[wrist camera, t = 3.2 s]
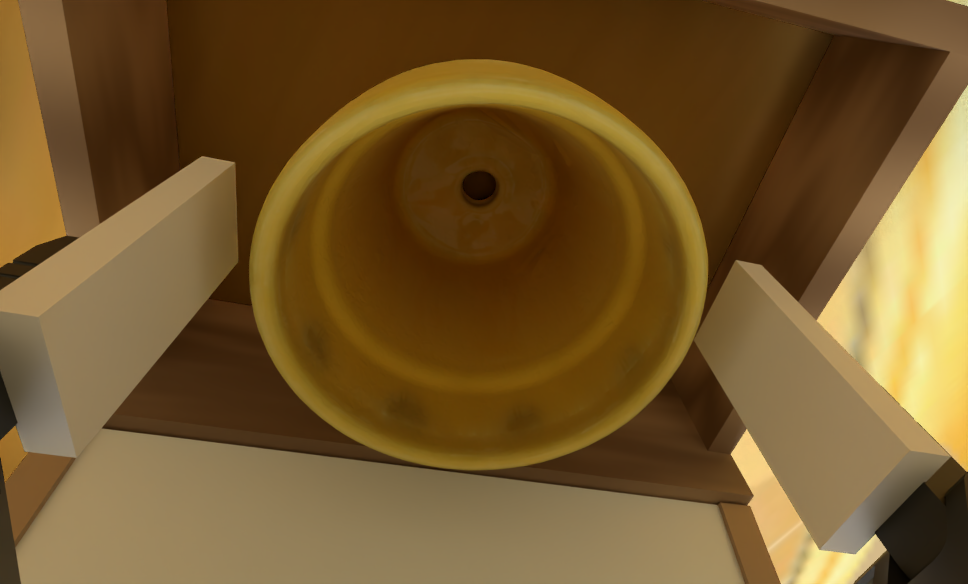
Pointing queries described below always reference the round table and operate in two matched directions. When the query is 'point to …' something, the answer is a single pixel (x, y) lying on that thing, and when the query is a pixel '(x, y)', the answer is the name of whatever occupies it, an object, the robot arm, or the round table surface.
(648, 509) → the lid
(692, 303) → the plant pot
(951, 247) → the round table surface
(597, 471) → the cold frame
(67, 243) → the robot arm
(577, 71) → the round table surface
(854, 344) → the round table surface
